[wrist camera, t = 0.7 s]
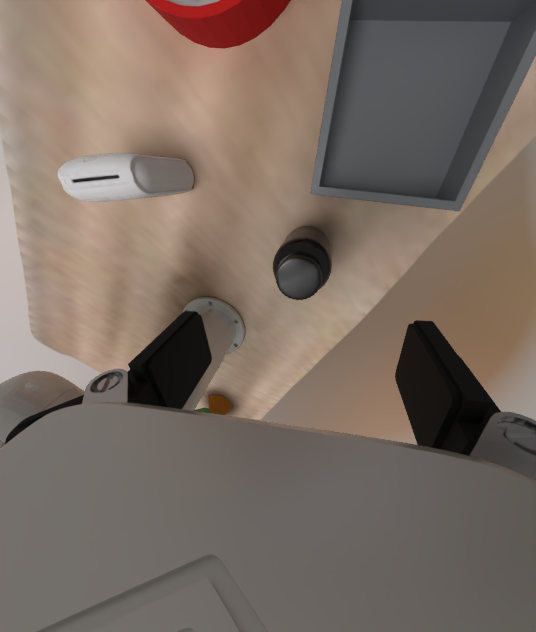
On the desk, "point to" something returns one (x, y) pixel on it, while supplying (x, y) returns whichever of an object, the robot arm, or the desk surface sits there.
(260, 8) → the toy clock
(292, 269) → the supplement bottle
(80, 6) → the desk surface
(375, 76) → the box
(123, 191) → the photo printer
